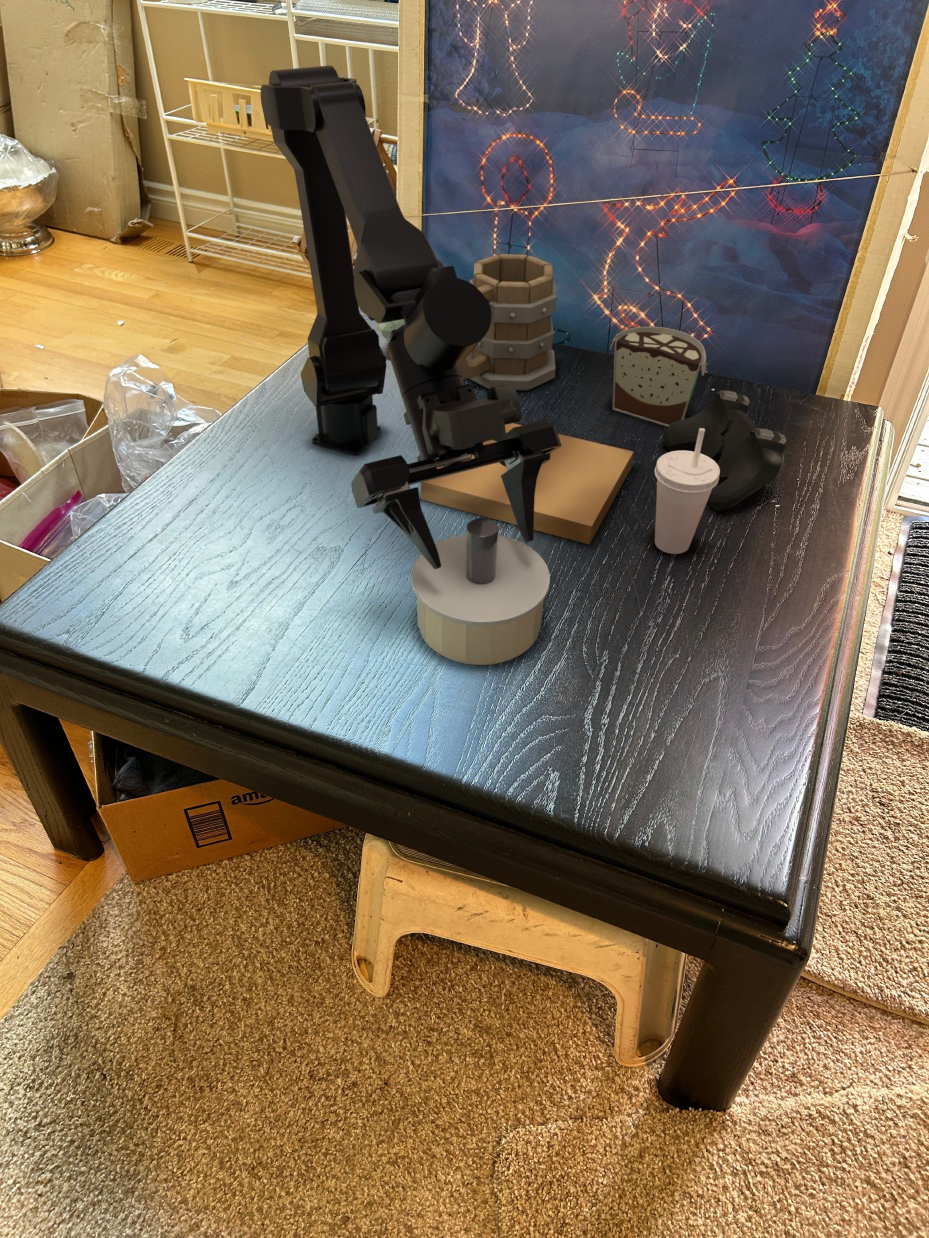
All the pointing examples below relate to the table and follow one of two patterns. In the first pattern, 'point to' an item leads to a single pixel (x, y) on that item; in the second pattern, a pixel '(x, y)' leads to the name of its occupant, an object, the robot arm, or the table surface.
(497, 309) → the tankard
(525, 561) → the lid
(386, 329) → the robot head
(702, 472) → the smoothie
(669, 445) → the game controller
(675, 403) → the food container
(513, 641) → the tin
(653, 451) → the table surface
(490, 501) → the board
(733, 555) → the table surface
